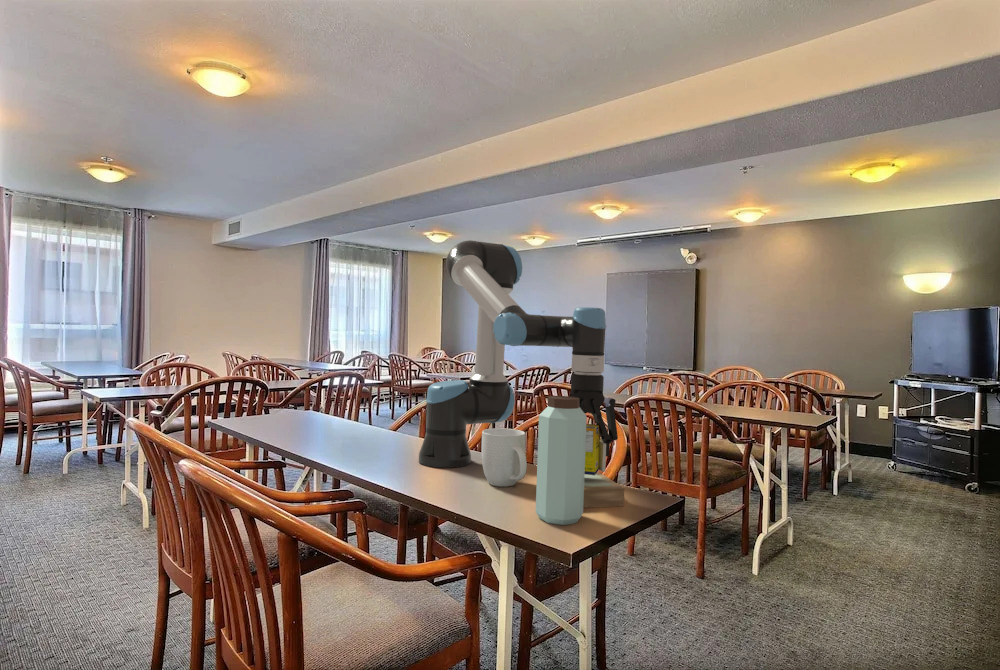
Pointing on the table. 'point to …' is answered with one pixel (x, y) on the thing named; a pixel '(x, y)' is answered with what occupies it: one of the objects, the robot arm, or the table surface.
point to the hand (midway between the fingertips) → (584, 470)
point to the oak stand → (602, 492)
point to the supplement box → (592, 449)
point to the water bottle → (561, 461)
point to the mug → (503, 456)
